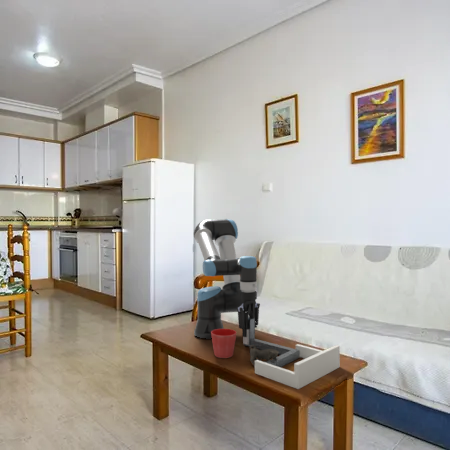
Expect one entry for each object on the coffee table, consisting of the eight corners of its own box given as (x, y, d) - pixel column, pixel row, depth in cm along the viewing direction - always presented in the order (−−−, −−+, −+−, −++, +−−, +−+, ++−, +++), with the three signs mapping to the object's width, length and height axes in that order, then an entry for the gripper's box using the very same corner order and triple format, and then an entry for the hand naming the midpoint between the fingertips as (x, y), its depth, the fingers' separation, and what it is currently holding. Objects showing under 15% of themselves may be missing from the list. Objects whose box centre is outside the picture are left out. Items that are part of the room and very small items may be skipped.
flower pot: (239, 351, 159) (239, 329, 160) (233, 360, 149) (232, 336, 149) (215, 349, 162) (215, 327, 162) (207, 358, 152) (207, 334, 152)
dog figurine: (249, 366, 142) (249, 347, 143) (250, 361, 148) (249, 342, 148) (281, 367, 141) (280, 347, 141) (280, 362, 147) (280, 343, 147)
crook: (218, 354, 156) (218, 325, 156) (247, 343, 170) (247, 317, 170) (272, 371, 137) (271, 339, 137) (299, 357, 151) (299, 327, 151)
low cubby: (254, 373, 136) (254, 351, 136) (297, 354, 155) (297, 335, 155) (298, 389, 122) (298, 364, 122) (339, 367, 141) (339, 345, 141)
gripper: (242, 294, 159) (242, 349, 159) (266, 289, 170) (266, 340, 170) (229, 292, 164) (230, 345, 164) (254, 287, 176) (254, 336, 176)
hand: (248, 342), depth 167 cm, fingers closed on crook, 3 cm apart
